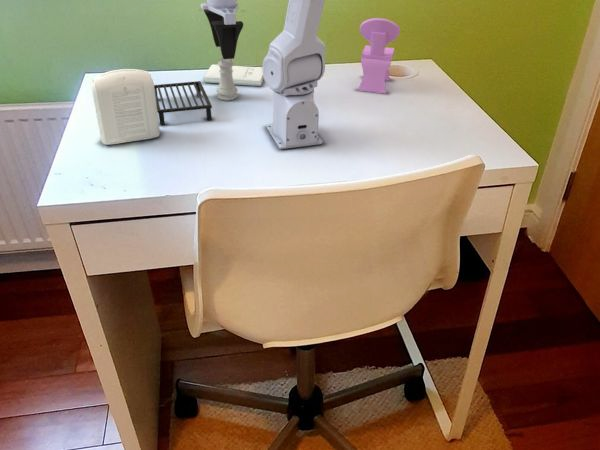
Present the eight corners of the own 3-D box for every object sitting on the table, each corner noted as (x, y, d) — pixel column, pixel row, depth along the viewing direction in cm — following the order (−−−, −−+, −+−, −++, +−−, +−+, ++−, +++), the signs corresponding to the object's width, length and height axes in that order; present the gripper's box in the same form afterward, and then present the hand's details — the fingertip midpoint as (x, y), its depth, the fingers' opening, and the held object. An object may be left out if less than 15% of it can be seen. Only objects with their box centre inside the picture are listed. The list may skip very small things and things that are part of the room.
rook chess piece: (219, 92, 116) (217, 54, 112) (240, 93, 116) (239, 56, 111) (214, 100, 113) (211, 61, 108) (235, 102, 112) (233, 63, 108)
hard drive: (212, 70, 127) (266, 73, 126) (204, 83, 120) (260, 86, 120) (212, 63, 126) (266, 66, 125) (203, 76, 119) (260, 79, 119)
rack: (212, 120, 105) (211, 105, 103) (159, 126, 102) (157, 111, 101) (201, 94, 115) (200, 80, 113) (152, 99, 112) (150, 85, 111)
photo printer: (157, 128, 101) (148, 62, 94) (163, 138, 98) (154, 70, 91) (99, 137, 98) (86, 69, 91) (103, 148, 95) (89, 78, 88)
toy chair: (394, 79, 125) (403, 11, 117) (391, 94, 118) (400, 22, 110) (358, 76, 127) (364, 8, 118) (352, 89, 120) (359, 18, 111)
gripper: (193, -29, 106) (198, 42, 114) (205, -12, 95) (211, 65, 102) (229, -30, 108) (232, 40, 115) (246, -14, 96) (248, 63, 104)
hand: (224, 52), depth 109 cm, fingers open, 7 cm apart
